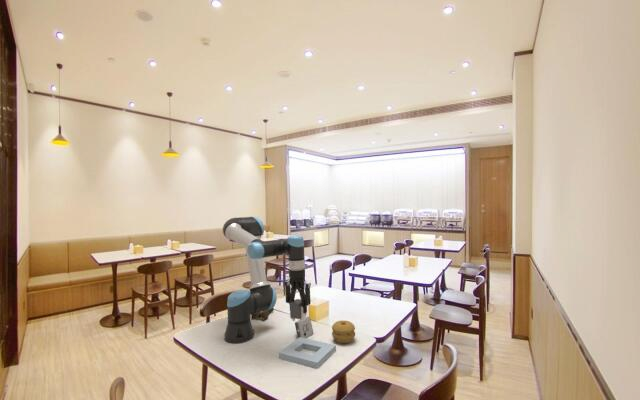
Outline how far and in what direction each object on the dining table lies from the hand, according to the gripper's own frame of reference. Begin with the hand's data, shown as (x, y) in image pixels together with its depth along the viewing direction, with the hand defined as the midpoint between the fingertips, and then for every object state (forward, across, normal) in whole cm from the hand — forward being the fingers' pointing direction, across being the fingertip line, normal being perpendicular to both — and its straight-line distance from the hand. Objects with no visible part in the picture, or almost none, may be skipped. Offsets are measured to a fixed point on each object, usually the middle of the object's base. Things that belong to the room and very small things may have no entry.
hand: (298, 319), depth 143 cm
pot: (+16, +12, +21) cm, 29 cm away
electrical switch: (+16, -8, +17) cm, 24 cm away
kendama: (+15, -46, +29) cm, 56 cm away
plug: (0, 0, 0) cm, 0 cm away
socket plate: (+16, +4, +1) cm, 16 cm away
